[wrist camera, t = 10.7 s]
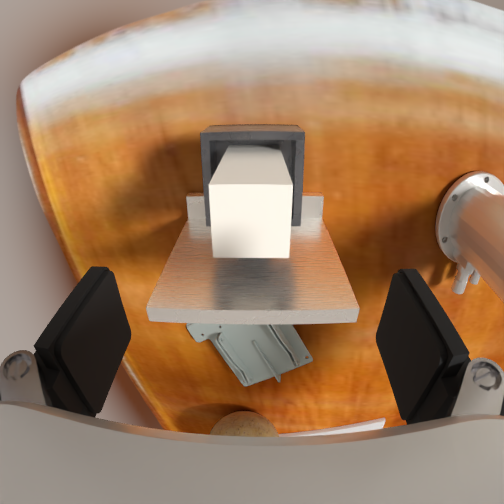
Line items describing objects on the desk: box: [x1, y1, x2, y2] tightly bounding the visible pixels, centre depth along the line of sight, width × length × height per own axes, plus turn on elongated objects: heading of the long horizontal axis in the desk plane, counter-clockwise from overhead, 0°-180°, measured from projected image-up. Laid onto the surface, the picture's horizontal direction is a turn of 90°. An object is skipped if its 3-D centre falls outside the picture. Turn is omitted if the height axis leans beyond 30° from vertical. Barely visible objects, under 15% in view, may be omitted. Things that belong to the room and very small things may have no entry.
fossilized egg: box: [210, 411, 279, 437], centre depth 46 cm, size 13×13×15 cm
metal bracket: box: [186, 323, 313, 386], centre depth 42 cm, size 14×6×15 cm
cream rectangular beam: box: [209, 145, 293, 258], centre depth 20 cm, size 4×4×11 cm
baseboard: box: [279, 417, 385, 437], centre depth 58 cm, size 31×3×12 cm
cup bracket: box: [146, 124, 360, 324], centre depth 25 cm, size 14×14×16 cm
